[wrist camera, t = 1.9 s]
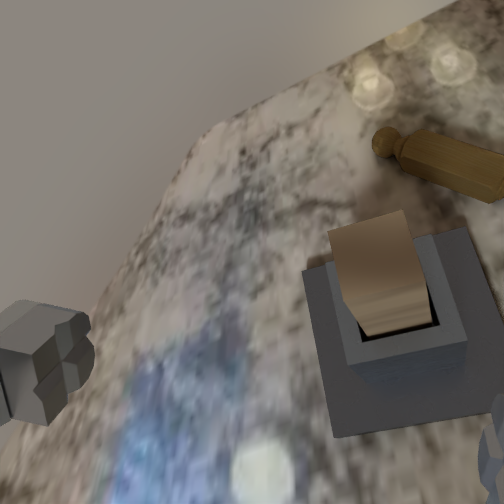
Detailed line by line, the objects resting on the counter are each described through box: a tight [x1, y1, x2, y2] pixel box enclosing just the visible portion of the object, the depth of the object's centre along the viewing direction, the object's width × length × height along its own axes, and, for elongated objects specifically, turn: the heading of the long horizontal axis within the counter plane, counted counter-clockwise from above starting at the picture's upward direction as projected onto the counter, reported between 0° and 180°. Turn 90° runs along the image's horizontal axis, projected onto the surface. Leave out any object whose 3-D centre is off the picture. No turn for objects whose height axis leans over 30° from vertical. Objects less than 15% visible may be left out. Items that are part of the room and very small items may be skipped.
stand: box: [302, 226, 504, 438], centre depth 34 cm, size 14×14×10 cm
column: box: [327, 209, 433, 341], centre depth 30 cm, size 4×4×15 cm
